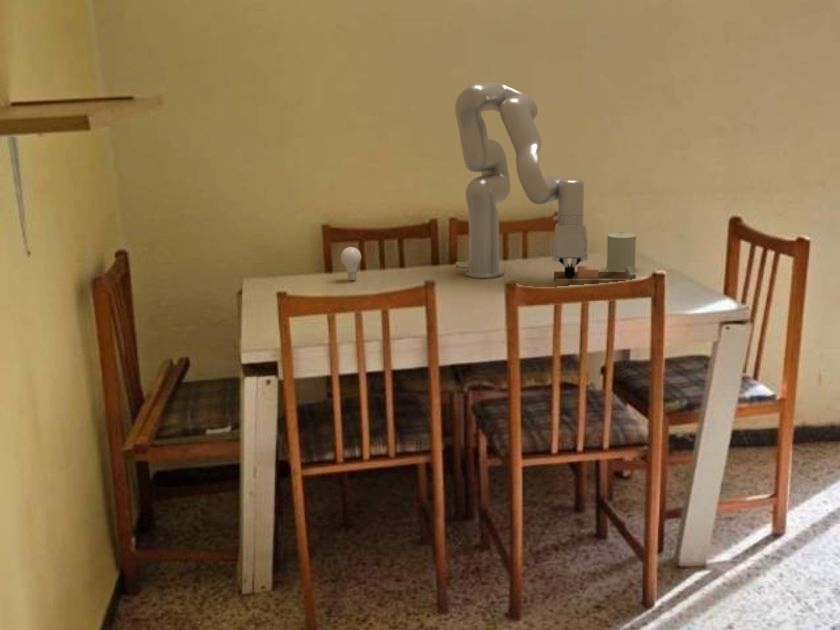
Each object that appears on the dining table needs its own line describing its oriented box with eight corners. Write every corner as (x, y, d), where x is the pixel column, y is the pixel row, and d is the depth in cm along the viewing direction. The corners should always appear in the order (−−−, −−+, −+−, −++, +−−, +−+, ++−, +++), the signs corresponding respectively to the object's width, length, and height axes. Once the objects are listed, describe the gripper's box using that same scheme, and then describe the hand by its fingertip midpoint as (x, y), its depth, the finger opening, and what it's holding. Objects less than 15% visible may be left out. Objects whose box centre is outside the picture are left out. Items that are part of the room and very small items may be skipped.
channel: (555, 288, 269) (555, 275, 268) (553, 278, 280) (554, 266, 279) (635, 287, 267) (635, 274, 265) (630, 278, 278) (630, 265, 277)
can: (633, 266, 294) (634, 230, 290) (637, 273, 285) (638, 235, 281) (604, 266, 295) (605, 230, 291) (607, 273, 286) (608, 236, 282)
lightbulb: (358, 283, 282) (357, 249, 279) (339, 282, 284) (337, 248, 281) (364, 278, 288) (363, 245, 285) (345, 278, 290) (344, 244, 287)
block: (578, 285, 271) (578, 269, 270) (577, 281, 277) (577, 265, 276) (598, 285, 270) (598, 269, 269) (596, 281, 276) (597, 265, 275)
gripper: (545, 222, 266) (545, 282, 271) (596, 221, 264) (595, 281, 269) (545, 218, 273) (544, 276, 278) (594, 217, 272) (593, 276, 277)
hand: (569, 279), depth 274 cm, fingers closed
